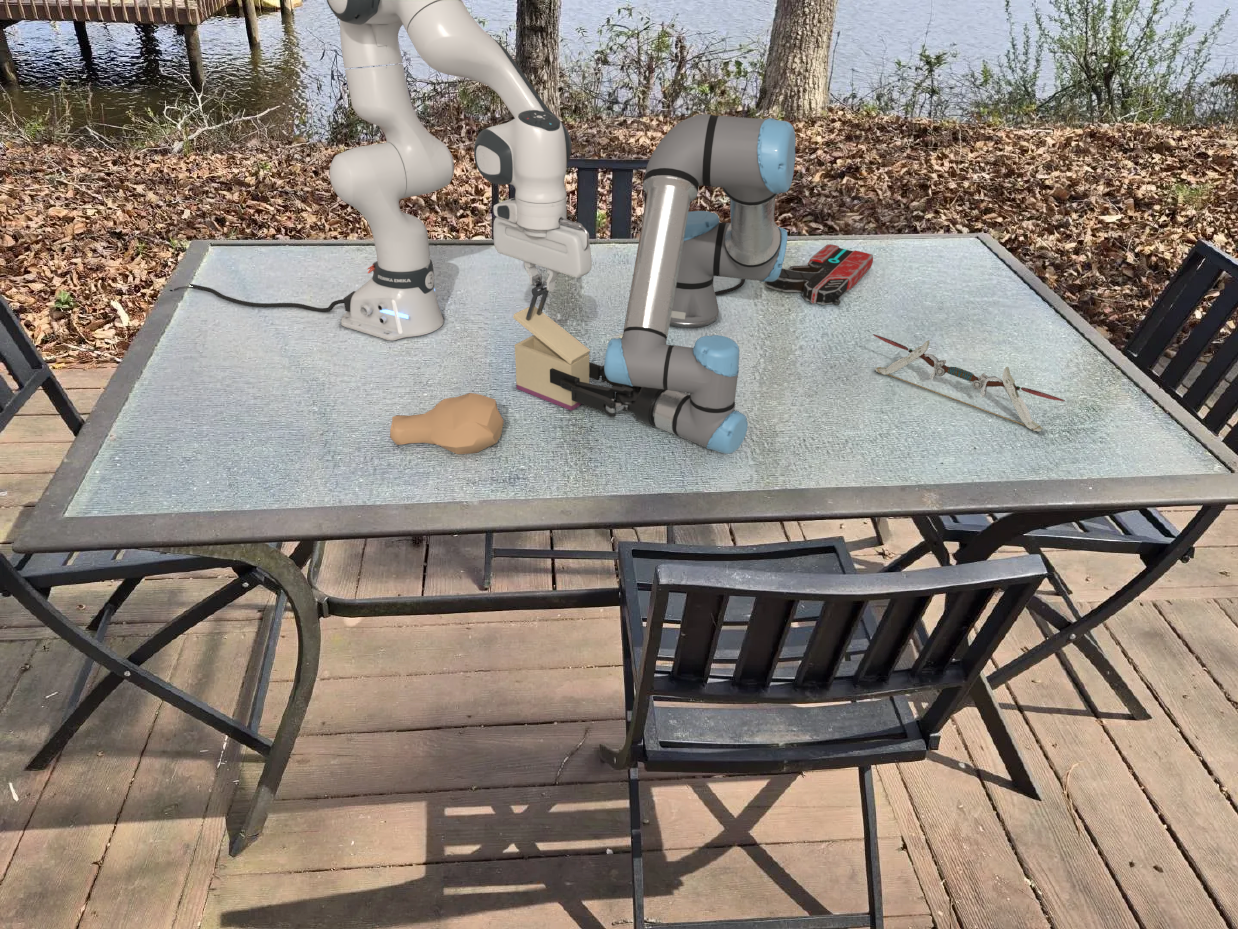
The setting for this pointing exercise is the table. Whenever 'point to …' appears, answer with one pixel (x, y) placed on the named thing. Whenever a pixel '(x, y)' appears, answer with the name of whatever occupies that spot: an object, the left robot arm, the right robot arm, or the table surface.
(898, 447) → the table surface
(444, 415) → the squash
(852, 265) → the gun
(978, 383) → the bow
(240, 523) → the table surface
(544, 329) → the lid
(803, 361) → the table surface
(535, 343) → the chest
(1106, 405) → the table surface
